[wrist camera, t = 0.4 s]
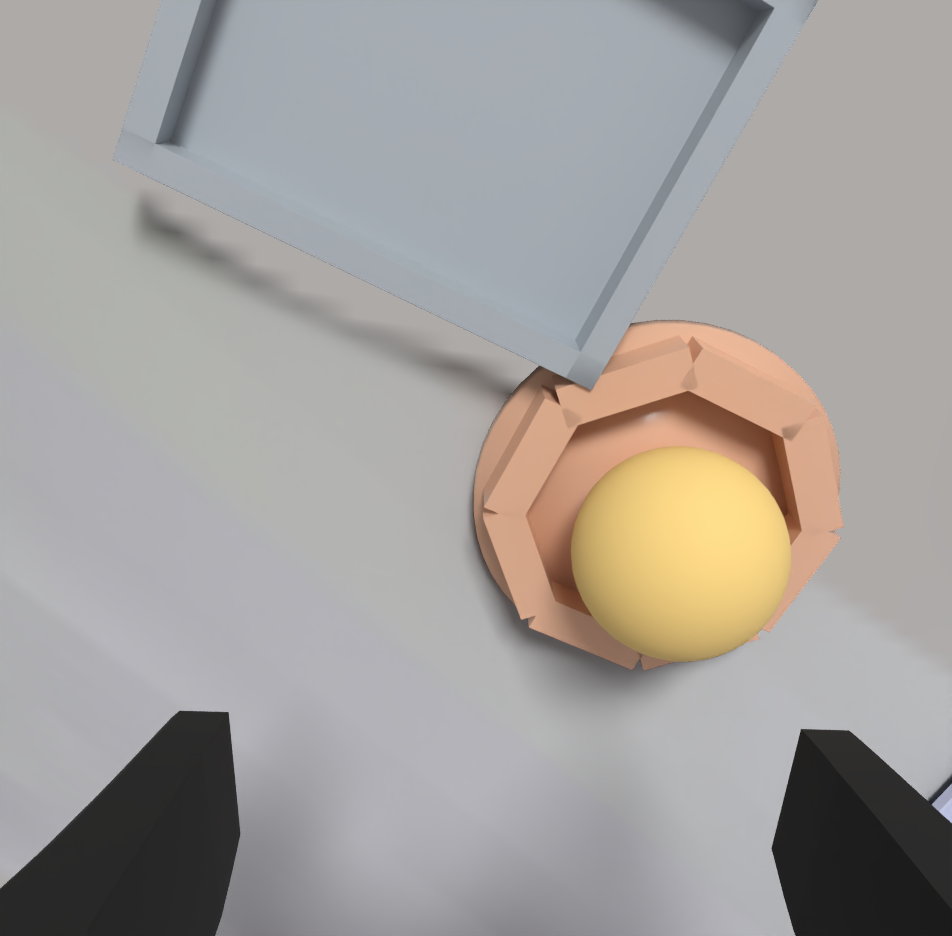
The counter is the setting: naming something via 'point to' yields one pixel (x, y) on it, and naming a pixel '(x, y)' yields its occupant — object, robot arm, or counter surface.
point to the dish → (638, 430)
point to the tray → (463, 143)
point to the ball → (681, 553)
